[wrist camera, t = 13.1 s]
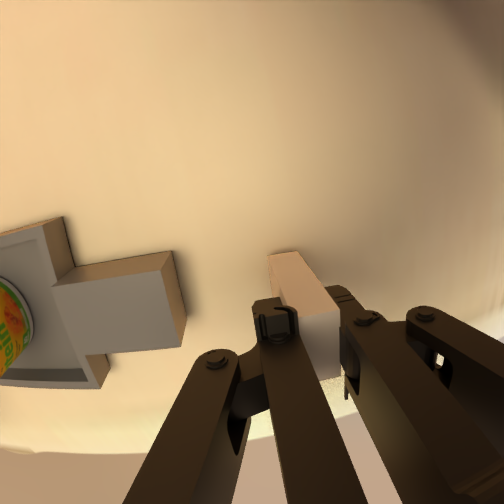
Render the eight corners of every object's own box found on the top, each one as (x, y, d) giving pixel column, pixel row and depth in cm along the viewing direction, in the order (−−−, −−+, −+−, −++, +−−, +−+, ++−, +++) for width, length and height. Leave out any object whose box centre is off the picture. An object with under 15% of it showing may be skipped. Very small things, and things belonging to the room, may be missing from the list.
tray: (160, 194, 16) (145, 202, 13) (198, 360, 19) (195, 392, 16) (-59, 252, 15) (-84, 265, 12) (-15, 367, 18) (-32, 387, 15)
